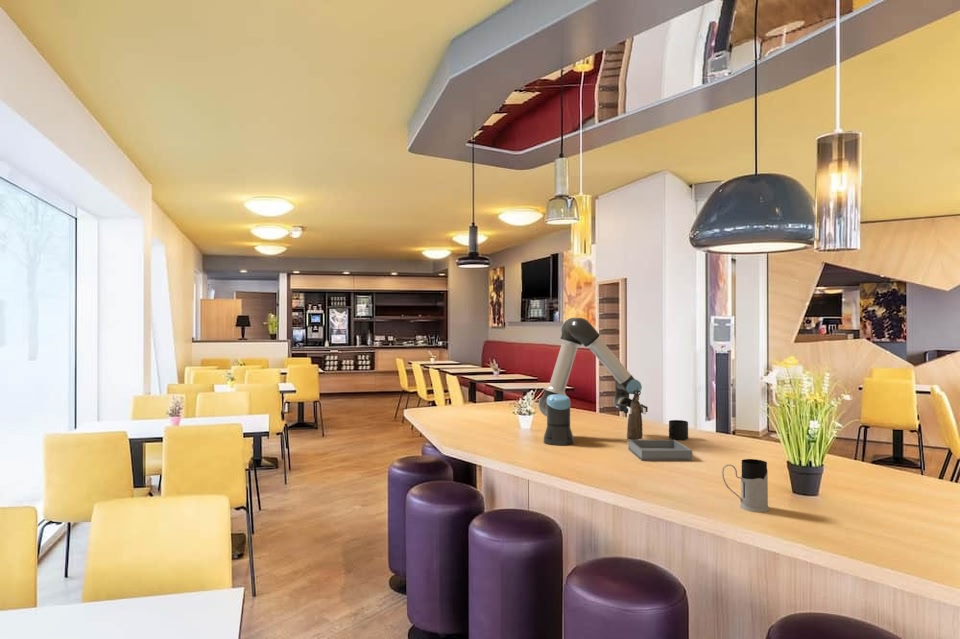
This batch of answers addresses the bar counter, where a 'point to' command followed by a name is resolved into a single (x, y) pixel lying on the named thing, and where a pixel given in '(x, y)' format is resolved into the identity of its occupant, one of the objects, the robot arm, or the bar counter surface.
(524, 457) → the bar counter surface
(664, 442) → the box
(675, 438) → the mug
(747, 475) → the glass holder
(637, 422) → the statue
